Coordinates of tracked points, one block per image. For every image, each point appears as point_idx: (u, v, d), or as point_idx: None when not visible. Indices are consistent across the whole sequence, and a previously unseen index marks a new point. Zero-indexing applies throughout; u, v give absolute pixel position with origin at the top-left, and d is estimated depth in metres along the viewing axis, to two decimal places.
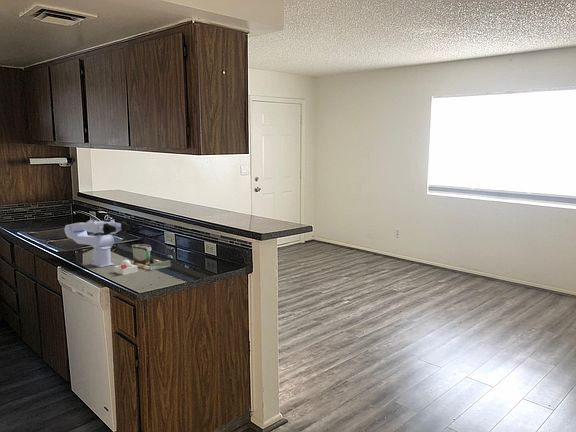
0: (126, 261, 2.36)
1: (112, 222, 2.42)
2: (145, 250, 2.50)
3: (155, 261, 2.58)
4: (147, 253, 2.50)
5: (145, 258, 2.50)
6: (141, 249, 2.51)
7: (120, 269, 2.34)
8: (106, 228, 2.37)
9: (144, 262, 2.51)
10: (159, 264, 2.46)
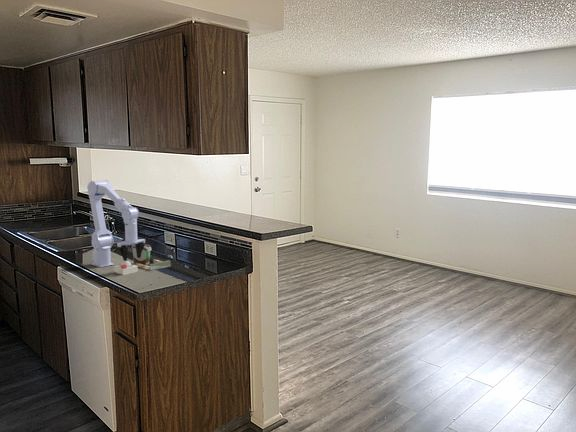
0: (126, 261, 2.36)
1: (134, 243, 2.37)
2: (145, 250, 2.50)
3: (155, 261, 2.58)
4: (147, 253, 2.50)
5: (145, 258, 2.50)
6: None
7: (120, 269, 2.34)
8: None
9: (144, 262, 2.51)
10: (159, 264, 2.46)
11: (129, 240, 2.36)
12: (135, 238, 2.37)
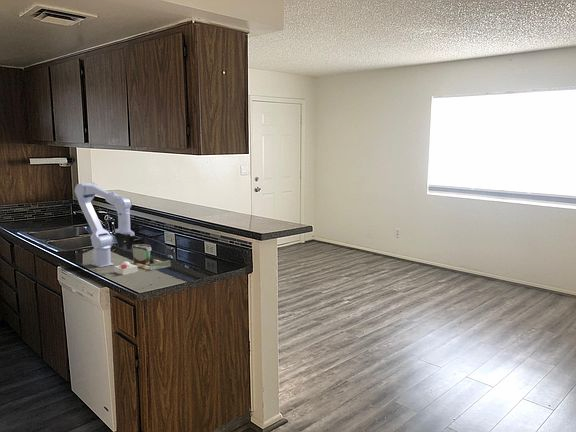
0: (126, 263, 2.37)
1: (119, 232, 2.41)
2: (145, 250, 2.50)
3: (155, 261, 2.58)
4: (147, 253, 2.50)
5: (145, 258, 2.50)
6: (141, 249, 2.51)
7: (120, 269, 2.34)
8: None
9: (144, 262, 2.51)
10: (159, 264, 2.46)
11: None
12: (120, 228, 2.40)
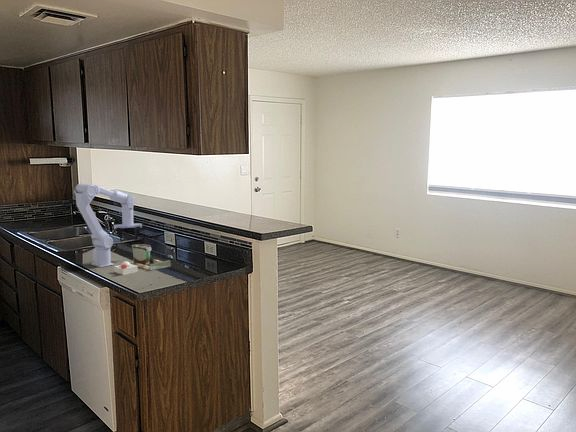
0: (126, 263, 2.37)
1: None
2: (145, 250, 2.50)
3: (155, 261, 2.58)
4: (147, 253, 2.50)
5: (145, 258, 2.50)
6: (141, 249, 2.51)
7: (120, 269, 2.34)
8: None
9: (144, 262, 2.51)
10: (159, 264, 2.46)
11: (124, 223, 2.59)
12: (129, 222, 2.60)
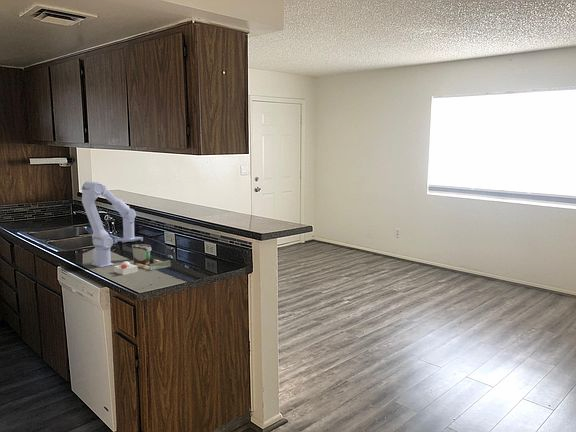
0: (126, 263, 2.37)
1: (129, 240, 2.60)
2: (145, 250, 2.50)
3: (155, 261, 2.58)
4: (147, 253, 2.50)
5: (145, 258, 2.50)
6: (141, 249, 2.51)
7: (120, 269, 2.34)
8: None
9: (144, 262, 2.51)
10: (159, 264, 2.46)
11: (125, 237, 2.60)
12: (130, 236, 2.60)
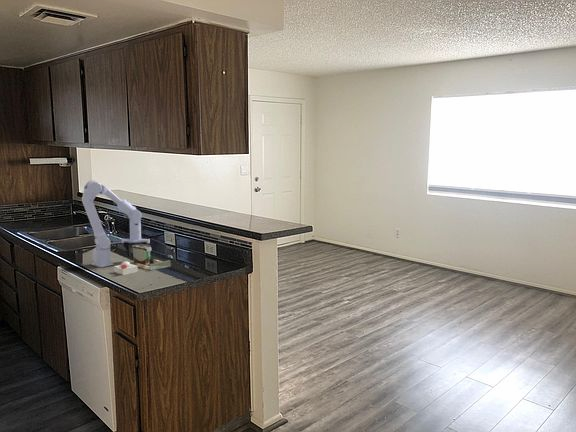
0: (126, 263, 2.37)
1: (134, 241, 2.56)
2: (145, 250, 2.49)
3: (155, 261, 2.58)
4: (147, 253, 2.49)
5: (145, 258, 2.49)
6: (141, 249, 2.50)
7: (120, 269, 2.34)
8: None
9: (144, 262, 2.50)
10: (159, 264, 2.46)
11: (130, 238, 2.57)
12: (135, 237, 2.56)
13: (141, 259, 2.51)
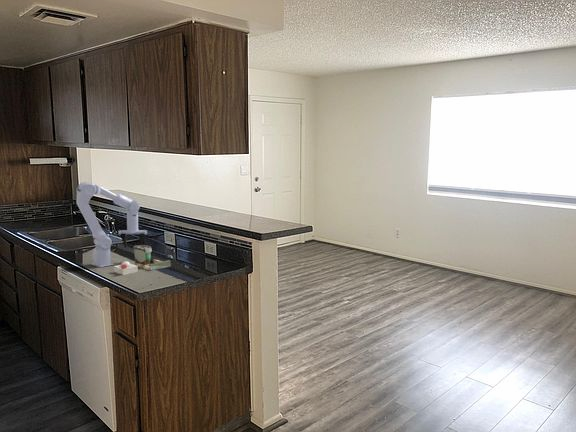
0: (126, 263, 2.37)
1: (131, 232, 2.57)
2: (144, 251, 2.46)
3: (155, 261, 2.58)
4: (146, 255, 2.46)
5: (144, 260, 2.47)
6: (141, 250, 2.48)
7: (120, 269, 2.34)
8: None
9: (143, 264, 2.48)
10: (159, 264, 2.46)
11: (128, 229, 2.57)
12: (133, 228, 2.57)
13: (141, 260, 2.49)
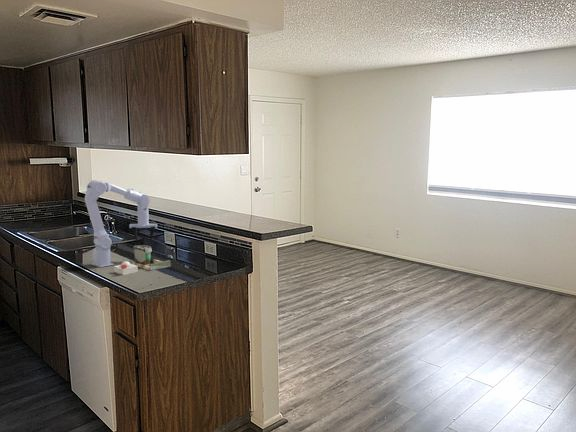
0: (126, 263, 2.37)
1: None
2: (144, 251, 2.46)
3: (155, 261, 2.58)
4: (146, 255, 2.46)
5: (144, 260, 2.47)
6: (141, 250, 2.48)
7: (120, 269, 2.34)
8: None
9: (143, 264, 2.48)
10: (159, 264, 2.46)
11: (138, 223, 2.61)
12: (143, 222, 2.60)
13: (141, 260, 2.49)
